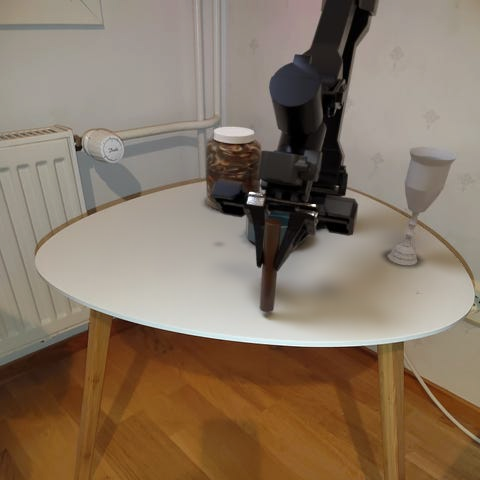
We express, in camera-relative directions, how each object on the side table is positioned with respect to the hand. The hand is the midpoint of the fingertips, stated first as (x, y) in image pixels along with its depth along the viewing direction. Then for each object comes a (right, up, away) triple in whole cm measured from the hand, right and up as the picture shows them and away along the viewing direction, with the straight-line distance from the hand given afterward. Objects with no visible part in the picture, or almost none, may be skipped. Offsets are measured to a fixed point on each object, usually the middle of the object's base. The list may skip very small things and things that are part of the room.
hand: (266, 268), depth 54 cm
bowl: (+3, +9, +26) cm, 28 cm away
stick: (0, -5, +5) cm, 7 cm away
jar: (-5, +20, +40) cm, 45 cm away
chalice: (+26, +4, +21) cm, 33 cm away
